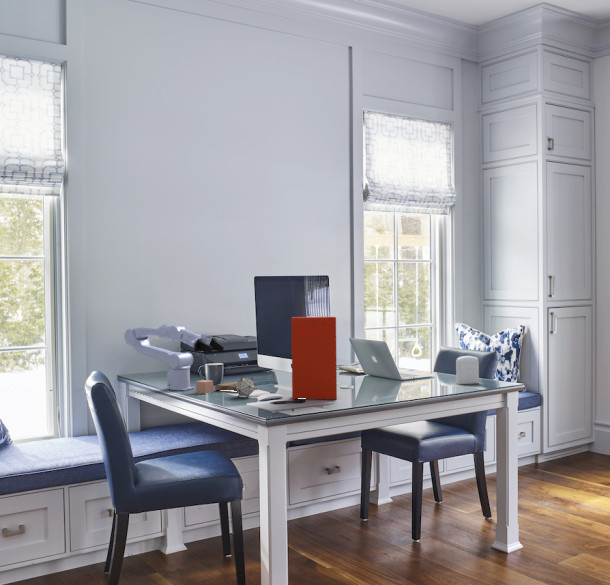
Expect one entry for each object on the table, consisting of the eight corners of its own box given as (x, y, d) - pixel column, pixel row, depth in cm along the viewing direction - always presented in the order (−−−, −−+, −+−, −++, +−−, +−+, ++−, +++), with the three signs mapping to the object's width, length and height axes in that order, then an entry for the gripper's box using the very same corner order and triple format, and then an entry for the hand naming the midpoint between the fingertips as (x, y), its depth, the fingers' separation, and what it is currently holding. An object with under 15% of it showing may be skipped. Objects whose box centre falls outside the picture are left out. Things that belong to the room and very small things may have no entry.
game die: (250, 406, 292) (265, 386, 292) (238, 401, 286) (253, 381, 285) (237, 393, 298) (251, 373, 298) (225, 388, 291) (240, 368, 291)
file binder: (292, 396, 291) (291, 316, 291) (335, 396, 291) (334, 316, 291) (292, 400, 283) (291, 317, 282) (336, 399, 283) (336, 317, 283)
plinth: (215, 390, 309) (215, 385, 309) (232, 387, 319) (232, 381, 319) (238, 392, 303) (238, 386, 303) (254, 389, 313) (254, 383, 313)
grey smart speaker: (458, 384, 321) (458, 356, 320) (454, 383, 325) (454, 355, 325) (480, 383, 322) (480, 356, 322) (476, 382, 327) (476, 355, 327)
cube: (196, 393, 303) (196, 381, 303) (203, 391, 308) (203, 379, 308) (205, 394, 301) (205, 382, 301) (213, 392, 305) (213, 380, 305)
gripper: (184, 330, 304) (208, 341, 297) (206, 330, 316) (230, 340, 309) (180, 347, 305) (204, 357, 298) (202, 345, 317) (226, 355, 310)
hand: (217, 349), depth 303 cm, fingers open, 7 cm apart
